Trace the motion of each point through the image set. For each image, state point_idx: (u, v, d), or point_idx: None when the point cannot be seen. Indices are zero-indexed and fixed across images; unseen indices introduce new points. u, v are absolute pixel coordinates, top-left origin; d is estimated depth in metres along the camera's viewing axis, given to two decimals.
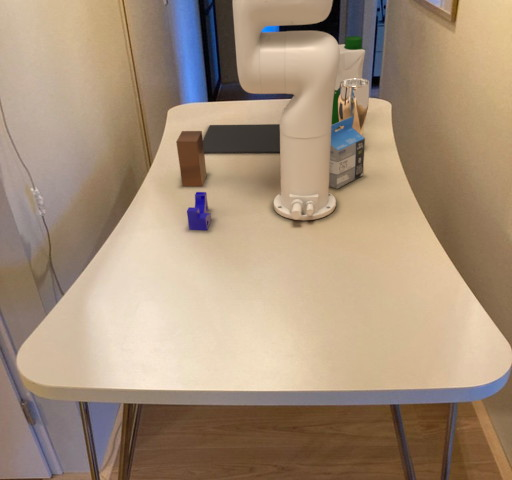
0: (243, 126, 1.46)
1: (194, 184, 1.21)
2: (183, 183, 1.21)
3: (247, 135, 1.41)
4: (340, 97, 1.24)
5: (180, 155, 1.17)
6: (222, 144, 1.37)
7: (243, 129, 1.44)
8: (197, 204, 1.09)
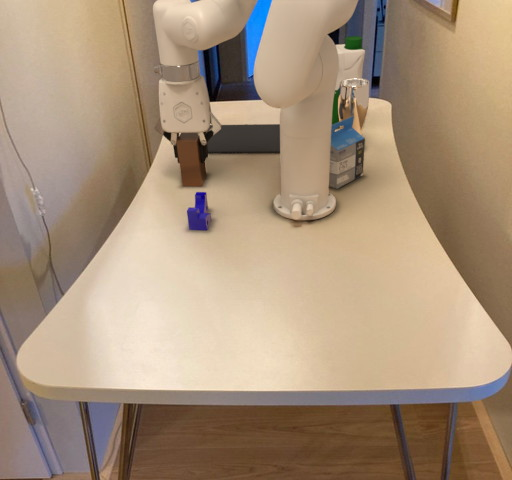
0: (243, 126, 1.46)
1: (194, 184, 1.21)
2: (183, 183, 1.21)
3: (247, 135, 1.41)
4: (340, 97, 1.24)
5: (180, 155, 1.17)
6: (222, 144, 1.37)
7: (243, 129, 1.44)
8: (197, 204, 1.09)
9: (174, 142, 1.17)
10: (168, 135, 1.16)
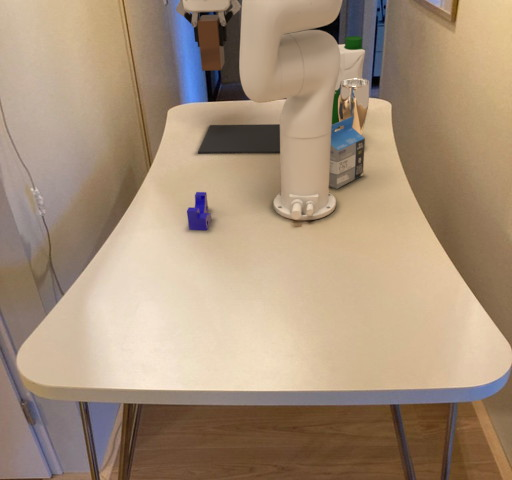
0: (243, 126, 1.46)
1: (213, 68, 1.25)
2: (203, 67, 1.25)
3: (247, 135, 1.41)
4: (340, 97, 1.24)
5: (200, 36, 1.21)
6: (222, 144, 1.37)
7: (243, 129, 1.44)
8: (197, 204, 1.09)
9: (195, 24, 1.21)
10: (189, 16, 1.20)
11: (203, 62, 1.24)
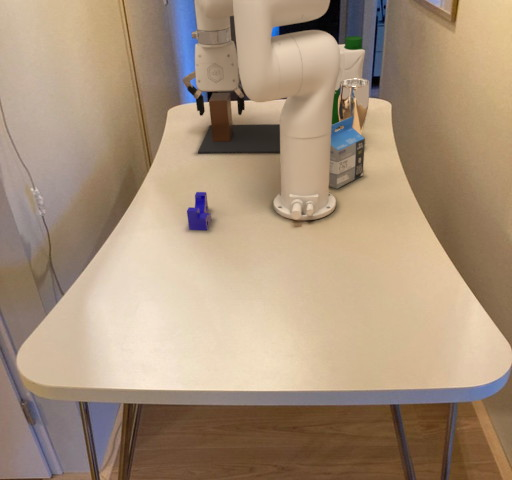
0: (243, 126, 1.46)
1: (223, 140, 1.38)
2: (213, 139, 1.38)
3: (247, 135, 1.41)
4: (340, 97, 1.24)
5: (211, 113, 1.34)
6: (222, 144, 1.37)
7: (243, 129, 1.44)
8: (197, 204, 1.09)
9: (197, 96, 1.33)
10: (192, 89, 1.33)
11: (214, 135, 1.37)
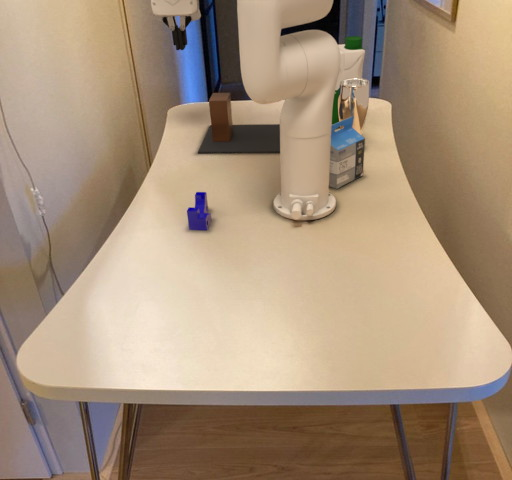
0: (243, 126, 1.46)
1: (223, 140, 1.38)
2: (213, 139, 1.38)
3: (247, 135, 1.41)
4: (340, 97, 1.24)
5: (211, 113, 1.34)
6: (222, 144, 1.37)
7: (243, 129, 1.44)
8: (197, 204, 1.09)
9: (173, 28, 1.24)
10: (167, 20, 1.24)
11: (214, 135, 1.37)
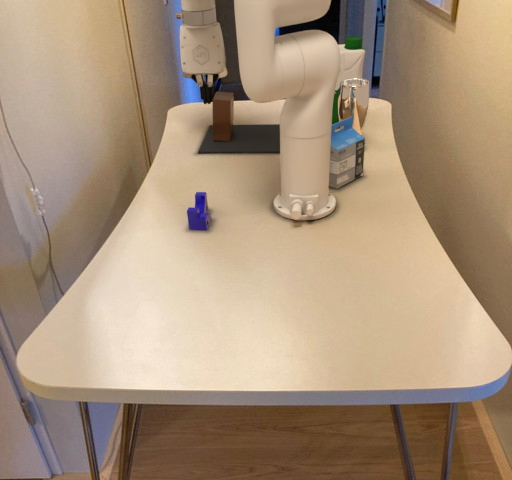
0: (243, 126, 1.46)
1: (223, 139, 1.38)
2: (213, 137, 1.38)
3: (247, 135, 1.41)
4: (340, 97, 1.24)
5: (214, 112, 1.34)
6: (222, 144, 1.37)
7: (243, 129, 1.44)
8: (197, 204, 1.09)
9: (201, 84, 1.31)
10: (195, 77, 1.31)
11: (214, 133, 1.37)
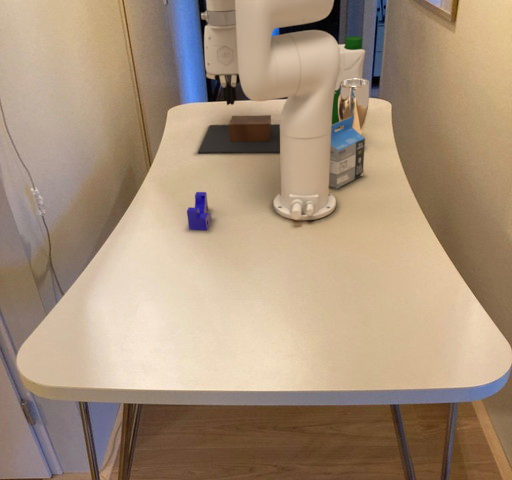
0: None
1: (231, 135, 1.37)
2: (231, 125, 1.35)
3: None
4: (340, 97, 1.24)
5: (257, 125, 1.35)
6: (222, 144, 1.37)
7: None
8: (197, 204, 1.09)
9: (224, 84, 1.31)
10: (219, 78, 1.30)
11: (235, 126, 1.35)
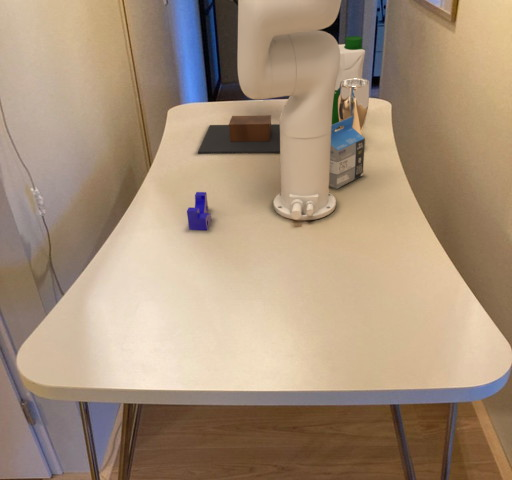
0: None
1: (231, 135, 1.37)
2: (231, 125, 1.35)
3: None
4: (340, 97, 1.24)
5: (257, 125, 1.35)
6: (222, 144, 1.37)
7: None
8: (197, 204, 1.09)
9: None
10: None
11: (235, 126, 1.35)
